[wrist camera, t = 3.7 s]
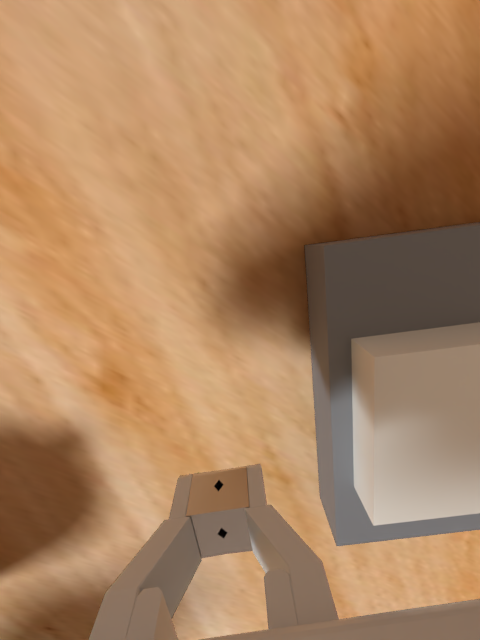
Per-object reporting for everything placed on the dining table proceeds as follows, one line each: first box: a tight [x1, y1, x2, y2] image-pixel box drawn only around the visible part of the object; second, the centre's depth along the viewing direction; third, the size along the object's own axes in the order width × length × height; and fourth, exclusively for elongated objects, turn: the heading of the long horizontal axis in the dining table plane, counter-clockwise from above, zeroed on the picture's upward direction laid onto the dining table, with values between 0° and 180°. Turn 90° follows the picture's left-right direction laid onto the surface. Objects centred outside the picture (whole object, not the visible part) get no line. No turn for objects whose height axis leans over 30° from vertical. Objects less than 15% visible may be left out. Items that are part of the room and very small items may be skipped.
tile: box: [351, 322, 480, 526], centre depth 12 cm, size 8×6×2 cm
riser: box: [305, 222, 480, 546], centre depth 14 cm, size 16×9×3 cm, turn 7°
